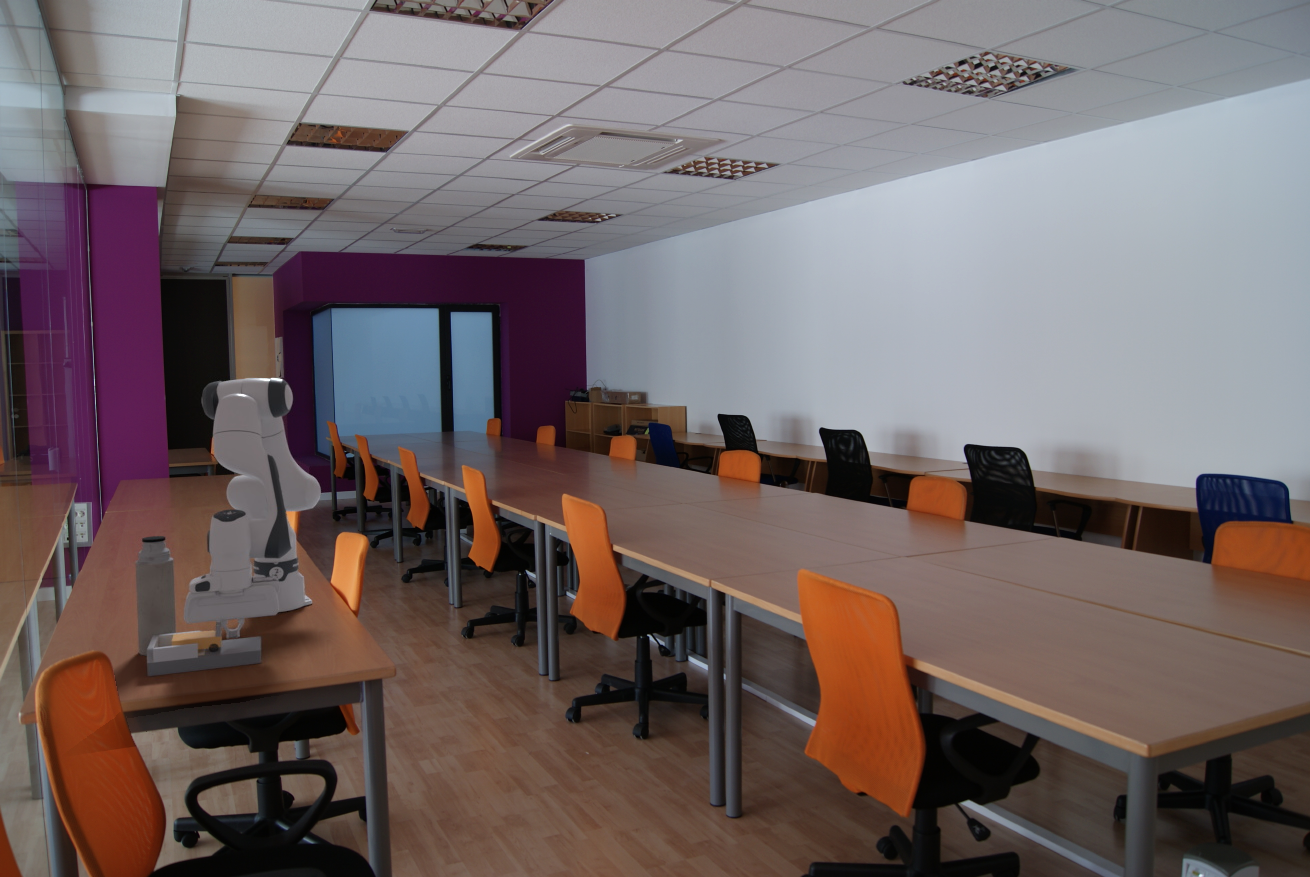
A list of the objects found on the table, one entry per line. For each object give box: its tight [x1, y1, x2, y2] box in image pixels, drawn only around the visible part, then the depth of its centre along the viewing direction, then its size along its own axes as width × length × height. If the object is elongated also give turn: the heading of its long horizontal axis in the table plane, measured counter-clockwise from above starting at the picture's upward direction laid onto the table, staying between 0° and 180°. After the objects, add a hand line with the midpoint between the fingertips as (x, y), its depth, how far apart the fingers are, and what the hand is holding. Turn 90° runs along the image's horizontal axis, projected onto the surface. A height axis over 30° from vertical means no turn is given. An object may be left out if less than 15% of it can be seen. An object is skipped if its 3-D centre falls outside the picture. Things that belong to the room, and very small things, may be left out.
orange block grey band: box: [172, 621, 223, 652], centre depth 202 cm, size 6×10×6 cm, turn 115°
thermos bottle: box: [135, 535, 177, 657], centre depth 210 cm, size 8×8×28 cm
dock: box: [146, 630, 262, 677], centre depth 203 cm, size 12×23×6 cm, turn 114°
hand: (233, 637), depth 205 cm, fingers closed
